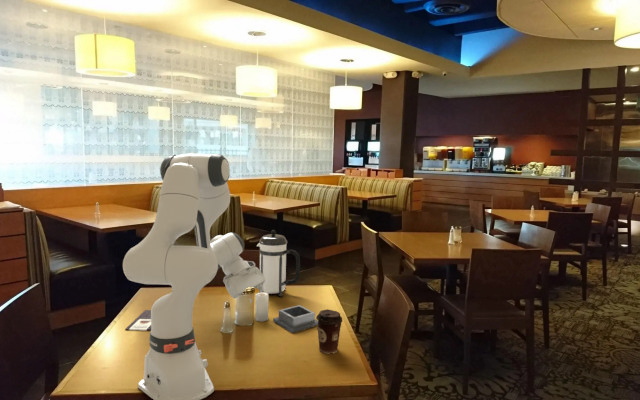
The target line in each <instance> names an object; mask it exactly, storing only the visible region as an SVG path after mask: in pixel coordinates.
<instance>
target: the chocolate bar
mask: <svg viewBox="0 0 640 400" xmlns="http://www.w3.org/2000/svg"><path fill="white" fill-rule="evenodd" d="M124 330H125V331H138V332H139V331H145V332H146V331H147V332H151V309H145V310H144V311H143V312H142V313H141V314H140V315H138V316H137V317H136V318H135V320H133V321H132V322H131V323H130V324H129V325H128V326H126V328H125V329H124Z"/></svg>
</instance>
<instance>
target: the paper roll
mask: <svg viewBox="0 0 640 400" xmlns="http://www.w3.org/2000/svg"><path fill="white" fill-rule="evenodd" d="M254 312H255V317H254V318H255V321H257V322H262V323H263V322H266V321H268V320H269V293H264V292H261V293H259V292H258V293H255V311H254Z"/></svg>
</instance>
